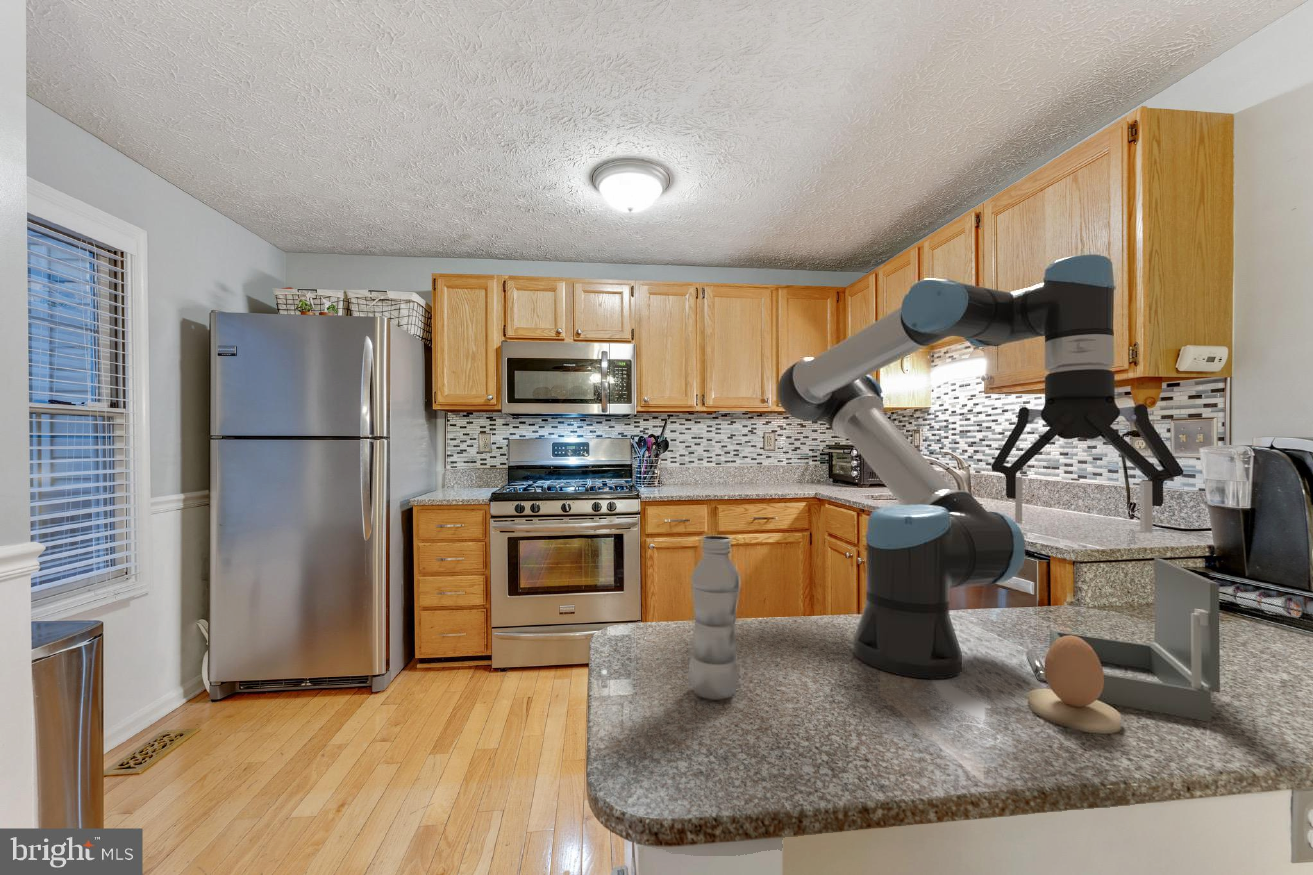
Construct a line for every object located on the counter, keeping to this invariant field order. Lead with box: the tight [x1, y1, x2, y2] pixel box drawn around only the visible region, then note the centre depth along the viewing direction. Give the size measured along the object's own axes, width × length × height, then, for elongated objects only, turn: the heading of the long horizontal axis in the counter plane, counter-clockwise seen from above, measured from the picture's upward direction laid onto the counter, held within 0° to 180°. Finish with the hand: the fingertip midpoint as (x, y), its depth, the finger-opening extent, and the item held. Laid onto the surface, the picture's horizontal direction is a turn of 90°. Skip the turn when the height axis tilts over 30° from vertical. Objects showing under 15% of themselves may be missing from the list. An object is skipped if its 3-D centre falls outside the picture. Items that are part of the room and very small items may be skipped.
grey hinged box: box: [1049, 557, 1221, 723], centre depth 76 cm, size 14×19×17 cm
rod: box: [1025, 649, 1047, 682], centre depth 80 cm, size 1×11×1 cm, turn 152°
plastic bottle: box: [688, 535, 741, 701], centre depth 69 cm, size 6×7×20 cm
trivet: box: [1027, 688, 1122, 735], centre depth 65 cm, size 9×9×1 cm
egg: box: [1043, 635, 1105, 707], centre depth 66 cm, size 6×6×8 cm
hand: (1079, 527), depth 73 cm, fingers open, 13 cm apart
